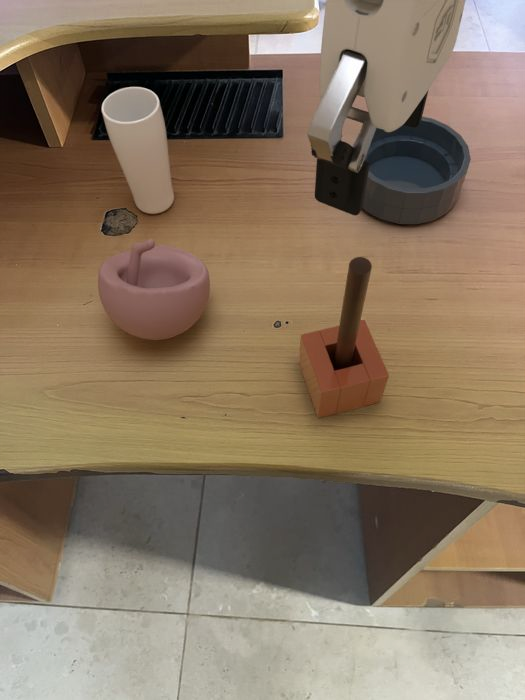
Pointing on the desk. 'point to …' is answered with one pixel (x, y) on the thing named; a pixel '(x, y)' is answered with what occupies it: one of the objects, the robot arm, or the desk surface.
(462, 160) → the bowl
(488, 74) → the desk surface
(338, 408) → the holder
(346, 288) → the stirring stick
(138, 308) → the mortar and pestle
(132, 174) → the drinking glass
